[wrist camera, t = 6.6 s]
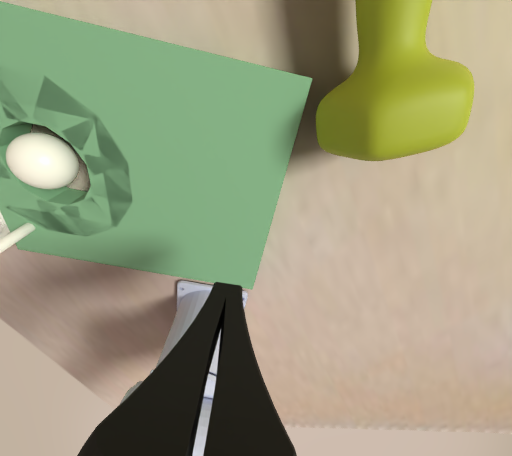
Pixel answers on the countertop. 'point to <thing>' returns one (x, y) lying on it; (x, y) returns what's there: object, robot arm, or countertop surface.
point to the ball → (42, 160)
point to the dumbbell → (395, 89)
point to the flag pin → (15, 236)
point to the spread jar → (3, 227)
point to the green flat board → (146, 147)
